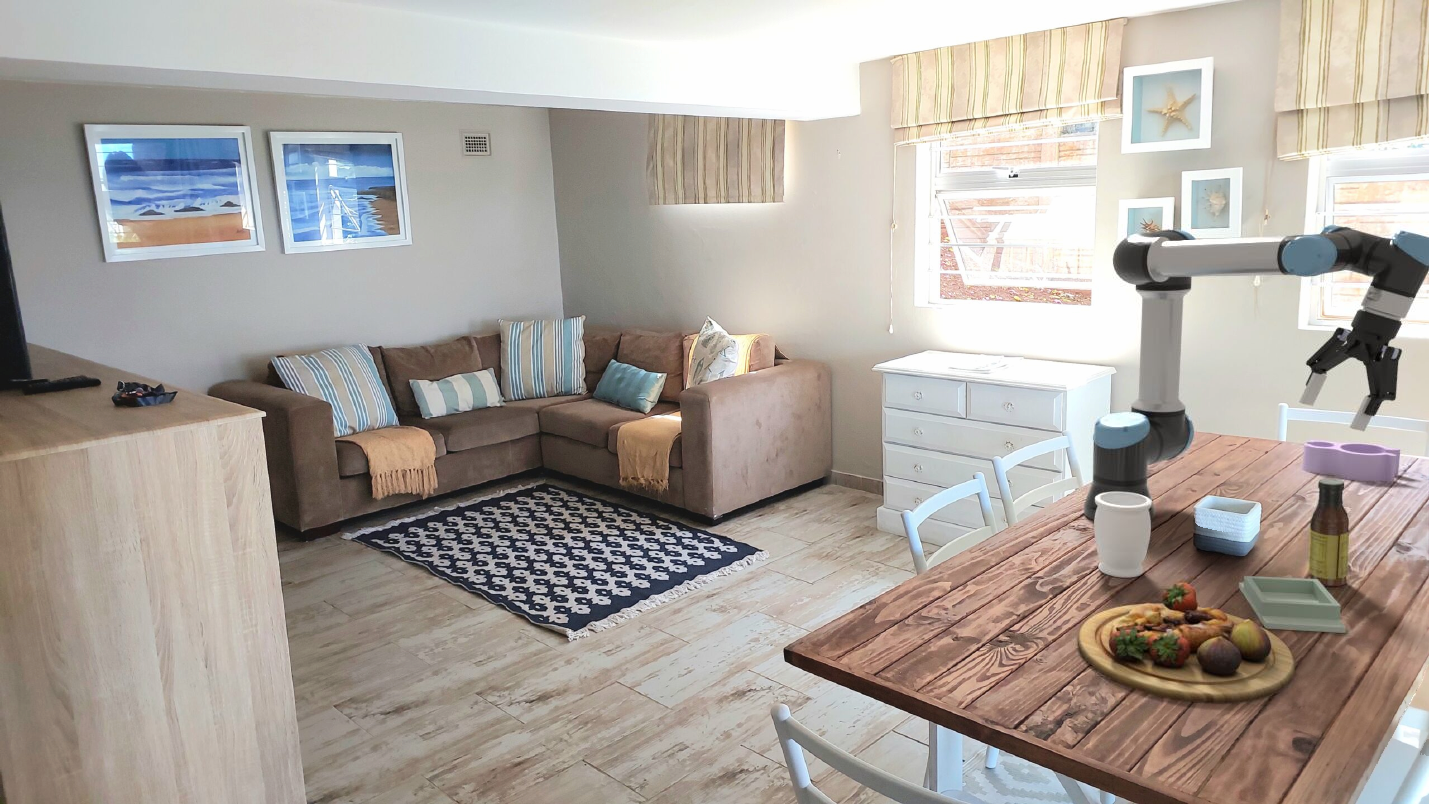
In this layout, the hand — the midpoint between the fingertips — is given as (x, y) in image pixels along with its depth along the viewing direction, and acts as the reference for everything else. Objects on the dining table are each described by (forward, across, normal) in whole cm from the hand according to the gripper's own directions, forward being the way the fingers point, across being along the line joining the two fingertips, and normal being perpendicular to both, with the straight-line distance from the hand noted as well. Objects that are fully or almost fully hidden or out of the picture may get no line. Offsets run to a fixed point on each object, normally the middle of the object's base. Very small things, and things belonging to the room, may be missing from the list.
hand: (1330, 416), depth 189 cm
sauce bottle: (+28, +16, 0) cm, 32 cm away
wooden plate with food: (+37, +36, -42) cm, 67 cm away
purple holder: (+22, -42, +56) cm, 73 cm away
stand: (+30, +25, -15) cm, 42 cm away
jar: (+40, +2, -31) cm, 50 cm away
